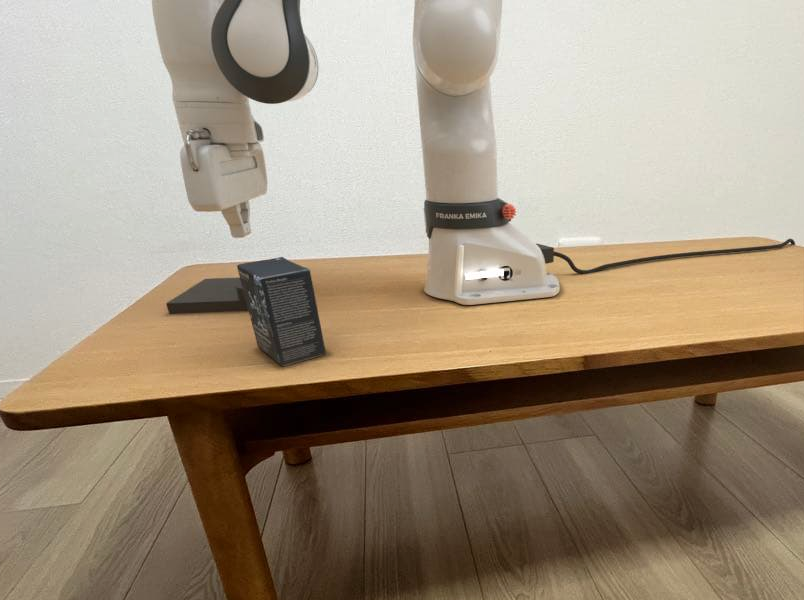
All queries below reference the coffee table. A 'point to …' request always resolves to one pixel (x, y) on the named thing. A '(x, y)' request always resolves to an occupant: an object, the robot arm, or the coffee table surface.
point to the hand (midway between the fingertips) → (242, 235)
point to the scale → (210, 297)
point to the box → (282, 309)
